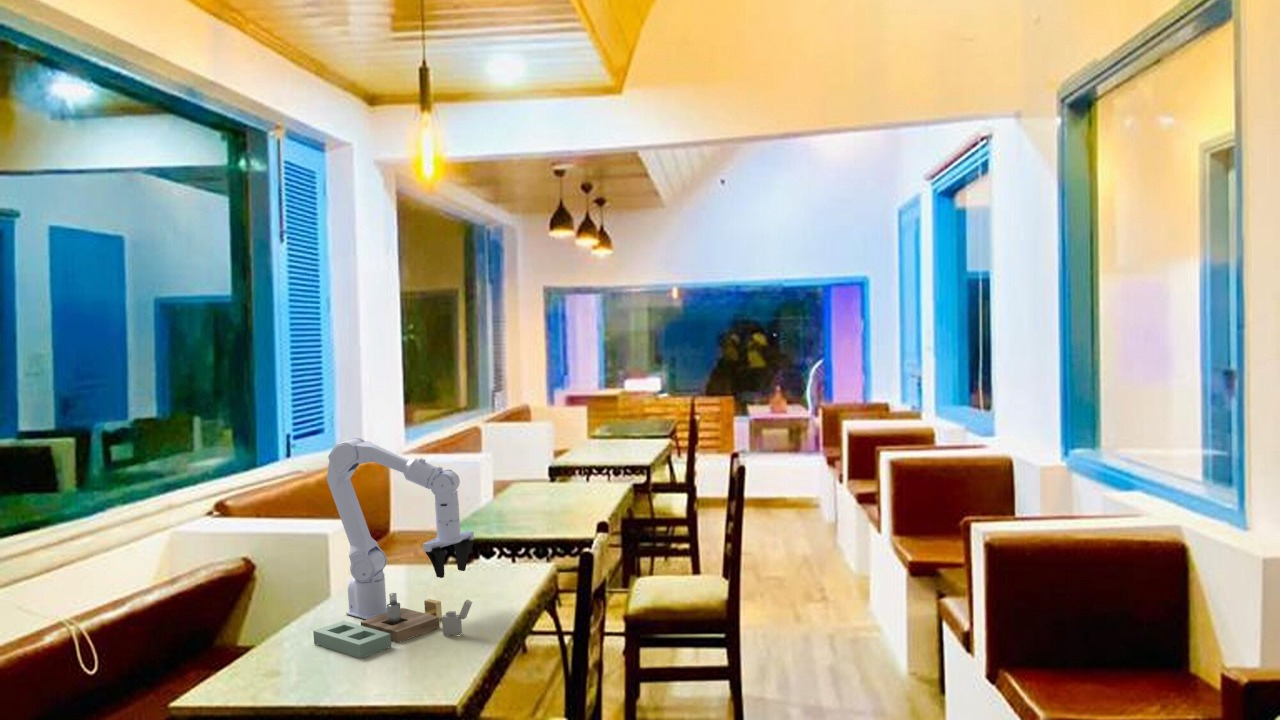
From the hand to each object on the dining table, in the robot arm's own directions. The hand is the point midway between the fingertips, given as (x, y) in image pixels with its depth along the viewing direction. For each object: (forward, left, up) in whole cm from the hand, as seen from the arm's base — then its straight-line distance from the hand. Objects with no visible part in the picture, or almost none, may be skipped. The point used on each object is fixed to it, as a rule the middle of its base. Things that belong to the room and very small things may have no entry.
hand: (451, 573), depth 229 cm
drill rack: (-1, -28, -9) cm, 30 cm away
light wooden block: (0, -8, -9) cm, 12 cm away
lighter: (+15, -11, -10) cm, 21 cm away
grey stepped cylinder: (0, -17, -9) cm, 20 cm away
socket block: (0, -16, -9) cm, 19 cm away
